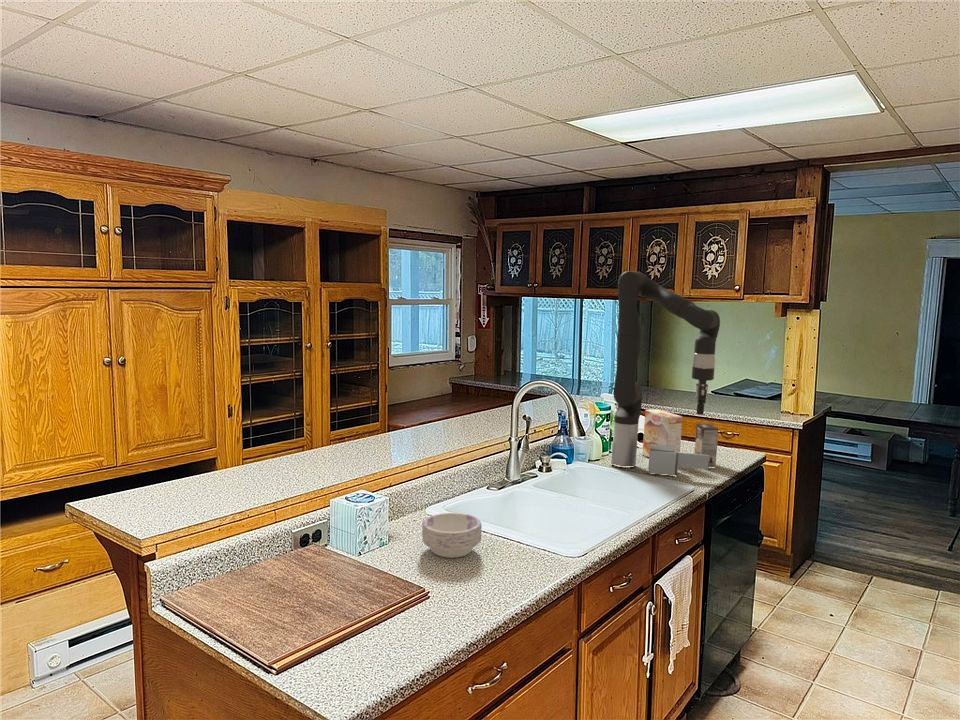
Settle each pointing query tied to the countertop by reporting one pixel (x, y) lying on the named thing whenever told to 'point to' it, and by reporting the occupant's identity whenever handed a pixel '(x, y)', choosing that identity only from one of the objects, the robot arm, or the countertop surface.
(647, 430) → the coffeecake box
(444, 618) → the countertop surface
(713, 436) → the coffee box
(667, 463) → the door
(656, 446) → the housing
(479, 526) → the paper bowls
